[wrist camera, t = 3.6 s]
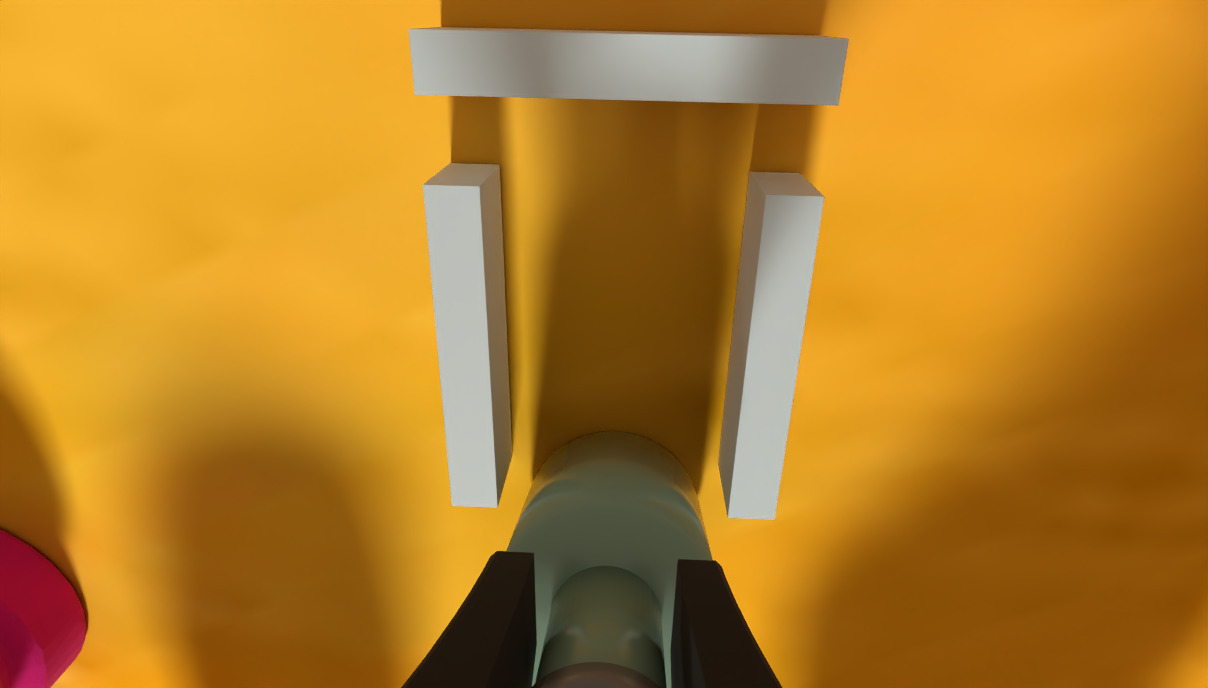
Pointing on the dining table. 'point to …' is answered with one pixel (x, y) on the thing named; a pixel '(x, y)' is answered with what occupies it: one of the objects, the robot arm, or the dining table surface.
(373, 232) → the dining table surface
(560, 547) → the bottle
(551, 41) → the rest
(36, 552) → the pepper mill
